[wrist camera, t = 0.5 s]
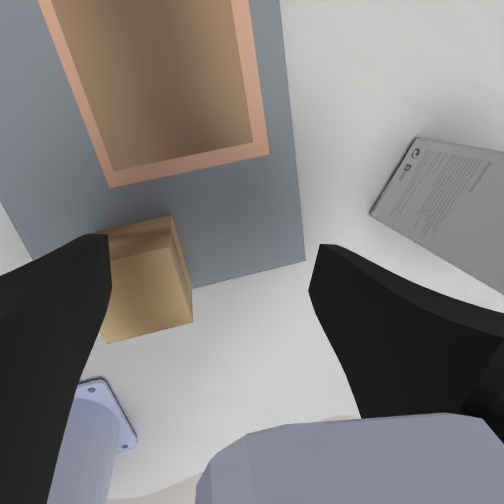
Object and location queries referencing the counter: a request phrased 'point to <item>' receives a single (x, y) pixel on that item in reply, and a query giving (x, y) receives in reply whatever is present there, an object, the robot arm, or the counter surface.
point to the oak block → (146, 280)
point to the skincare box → (450, 206)
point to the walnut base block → (158, 76)
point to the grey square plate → (150, 175)
